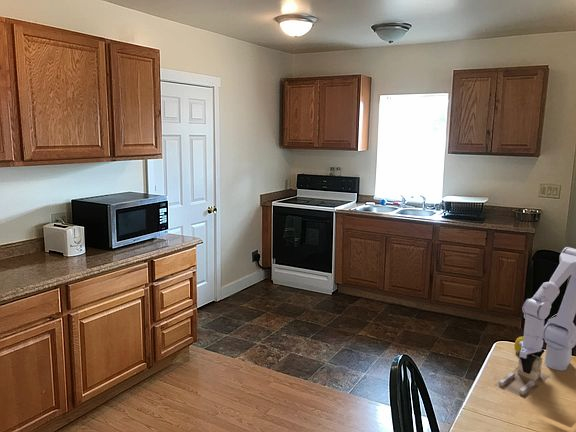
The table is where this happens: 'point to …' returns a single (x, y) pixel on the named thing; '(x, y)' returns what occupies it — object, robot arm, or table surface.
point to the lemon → (517, 345)
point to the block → (534, 371)
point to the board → (520, 383)
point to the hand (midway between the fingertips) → (529, 370)
